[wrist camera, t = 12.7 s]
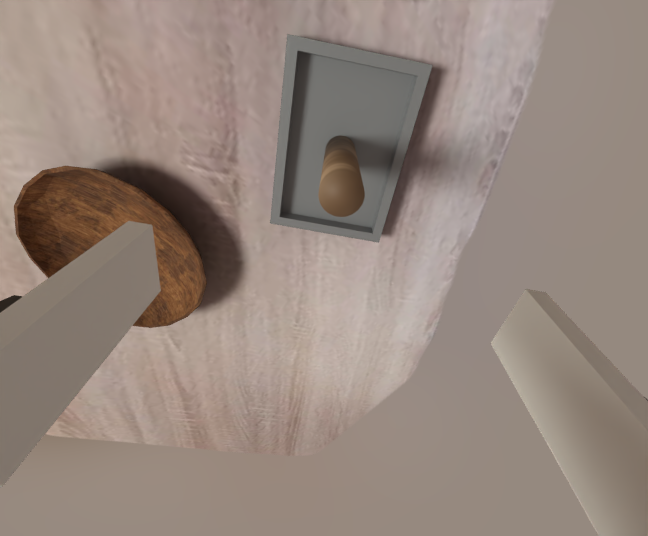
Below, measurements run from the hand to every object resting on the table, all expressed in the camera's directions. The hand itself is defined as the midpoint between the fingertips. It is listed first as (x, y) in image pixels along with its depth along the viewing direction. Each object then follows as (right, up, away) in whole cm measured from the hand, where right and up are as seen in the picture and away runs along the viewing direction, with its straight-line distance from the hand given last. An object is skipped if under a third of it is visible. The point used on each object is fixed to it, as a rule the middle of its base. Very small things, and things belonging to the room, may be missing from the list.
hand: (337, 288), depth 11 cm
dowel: (+1, +13, +22) cm, 26 cm away
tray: (+1, +14, +23) cm, 27 cm away
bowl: (-25, +4, +30) cm, 40 cm away
